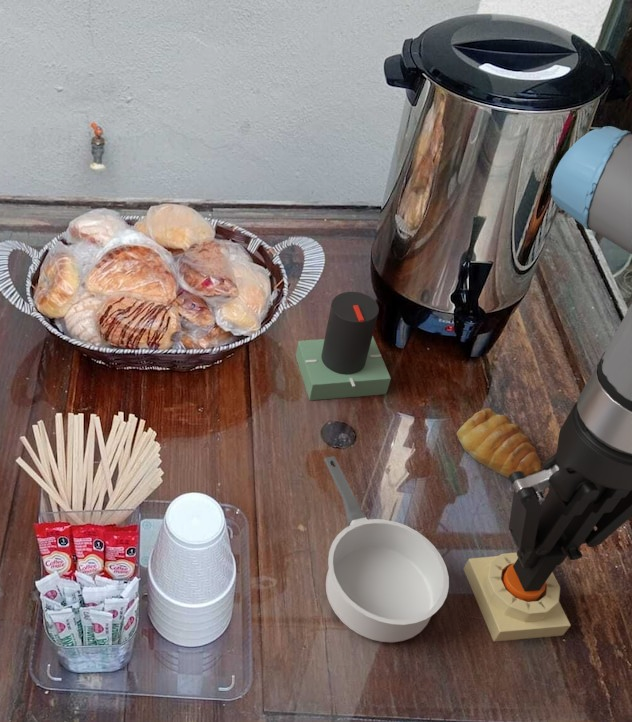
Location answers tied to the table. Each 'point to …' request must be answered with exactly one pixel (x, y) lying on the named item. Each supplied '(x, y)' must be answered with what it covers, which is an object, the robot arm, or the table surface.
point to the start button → (519, 586)
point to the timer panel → (338, 385)
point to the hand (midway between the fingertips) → (526, 577)
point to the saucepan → (382, 573)
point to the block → (514, 602)
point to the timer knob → (349, 332)
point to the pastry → (498, 444)
